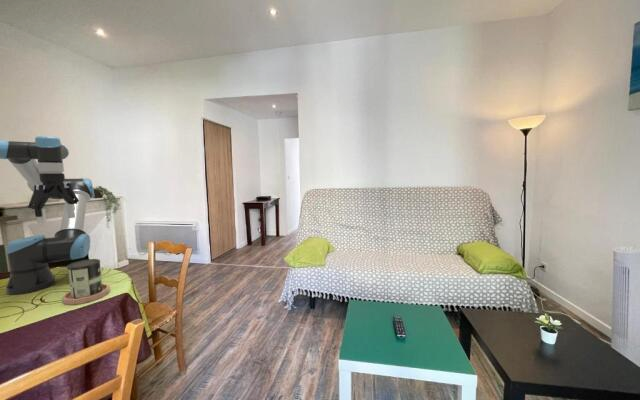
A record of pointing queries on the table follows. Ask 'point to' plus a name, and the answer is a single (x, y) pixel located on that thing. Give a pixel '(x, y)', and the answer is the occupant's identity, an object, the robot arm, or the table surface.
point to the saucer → (69, 301)
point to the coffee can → (85, 278)
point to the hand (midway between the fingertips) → (57, 221)
